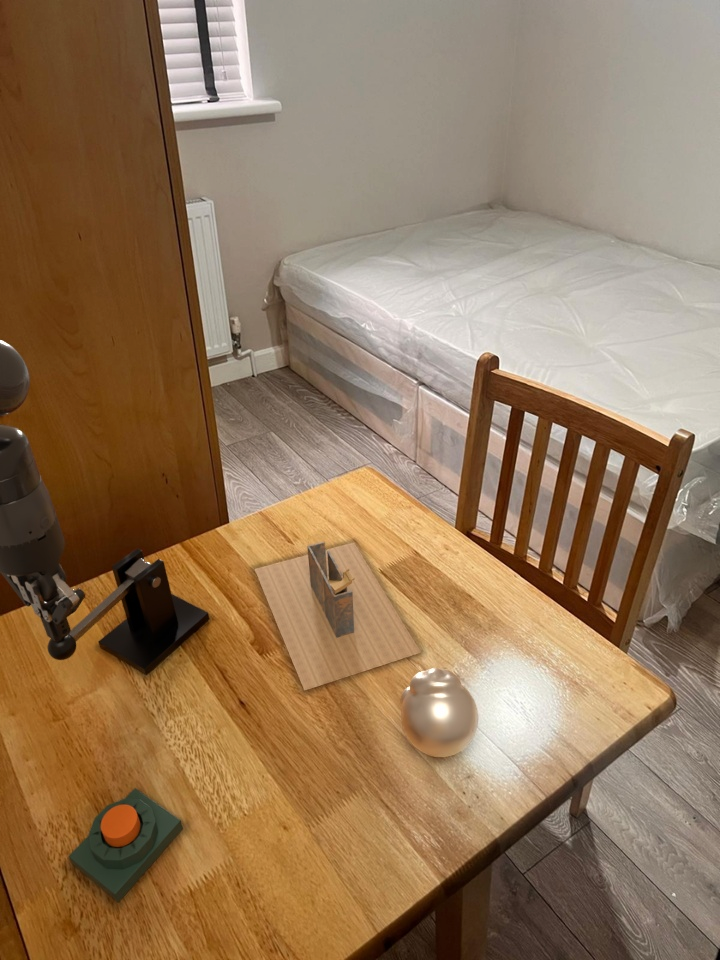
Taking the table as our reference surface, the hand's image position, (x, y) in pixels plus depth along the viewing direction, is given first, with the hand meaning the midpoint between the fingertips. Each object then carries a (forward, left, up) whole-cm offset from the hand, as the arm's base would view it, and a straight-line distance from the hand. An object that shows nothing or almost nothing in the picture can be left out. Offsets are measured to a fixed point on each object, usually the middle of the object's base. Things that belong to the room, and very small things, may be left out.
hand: (60, 635), depth 87 cm
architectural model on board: (+30, -18, -11) cm, 36 cm away
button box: (-10, -20, -11) cm, 25 cm away
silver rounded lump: (+19, -41, -11) cm, 46 cm away
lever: (+6, 0, -2) cm, 7 cm away
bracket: (+13, 0, -11) cm, 17 cm away
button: (-10, -20, -8) cm, 24 cm away
